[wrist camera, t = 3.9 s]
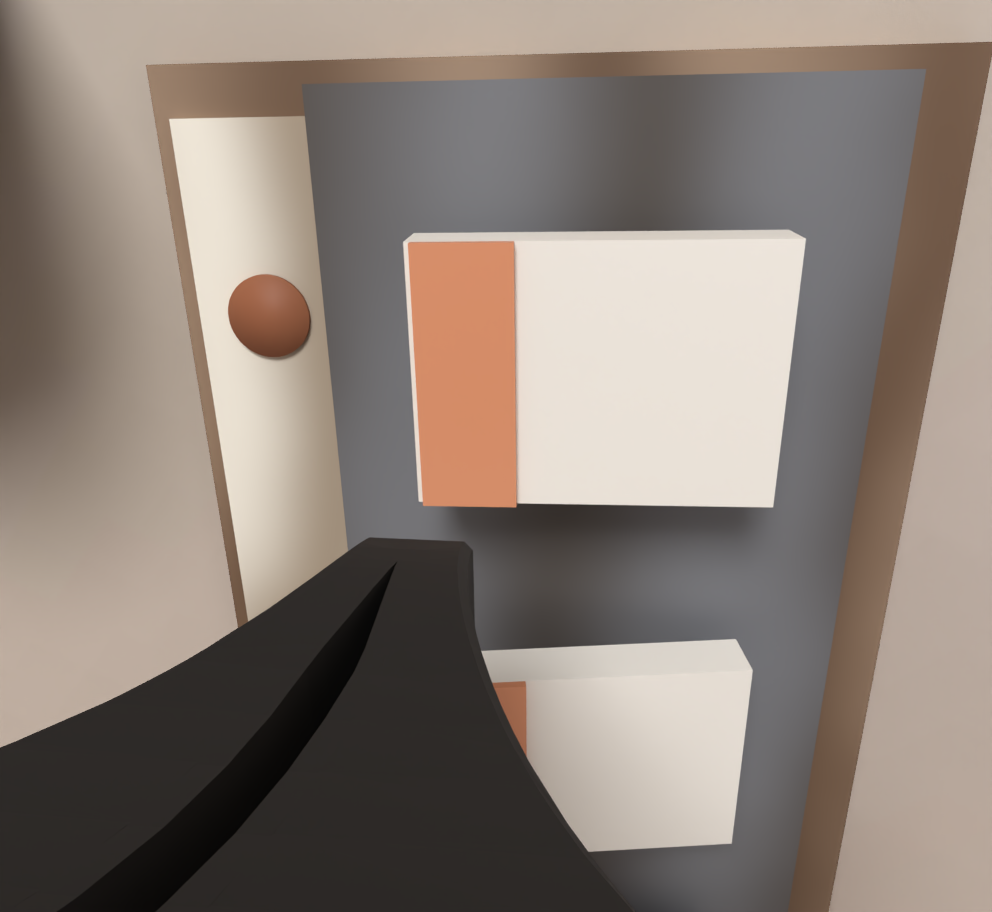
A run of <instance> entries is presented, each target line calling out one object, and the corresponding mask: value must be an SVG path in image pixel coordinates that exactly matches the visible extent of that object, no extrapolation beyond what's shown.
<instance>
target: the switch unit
mask: <svg viewBox="0 0 992 912" xmlns="http://www.w3.org/2000/svg"><path fill="white" fill-rule="evenodd" d="M991 57H992V42H973V43H936V44H899V45H863V46H826V47H789V48H752V49H716V50H679V51H642V52H605V53H569V54H532V55H495V56H459V57H422V58H385V59H348V60H312V61H275V62H238V63H201V64H165V65H146V68H147V74H148V80H149V86H150V92H151V99H152V105H153V111H154V117H155V123H156V129H157V135H158V141H159V147H160V153H161V160H162V166H163V172H164V178H165V184H166V190H167V196H168V202H169V208H170V215H171V221H172V227H173V233H174V239H175V245H176V251H177V257H178V263H179V269H180V276H181V282H182V288H183V294H184V300H185V306H186V312H187V318H188V324H189V330H190V337H191V343H192V349H193V355H194V361H195V367H196V373H197V379H198V385H199V391H200V398H201V404H202V410H203V416H204V422H205V428H206V434H207V440H208V446H209V452H210V459H211V465H212V471H213V477H214V483H215V489H216V495H217V501H218V507H219V514H220V520H221V526H222V532H223V538H224V544H225V550H226V556H227V562H228V568H229V575H230V581H231V587H232V593H233V599H234V605H235V611H236V617H237V623H238V628H239V627H240V626H242V625H244V624H245V623H247V622H248V621H250V620H251V619H253V618H255V617H256V616H258V615H259V614H261V613H262V612H264V611H265V610H267V609H268V608H270V607H271V606H273V605H274V604H276V603H277V602H278V601H280V600H281V599H283V598H284V597H285V596H287V595H288V594H290V593H291V592H292V591H294V590H295V589H297V588H298V587H299V586H301V585H302V584H304V583H305V582H306V581H308V580H309V579H311V578H312V577H313V576H315V575H316V574H318V573H319V572H320V571H322V570H323V569H324V568H326V567H327V566H328V565H330V564H331V563H332V562H334V561H335V560H337V559H338V558H339V557H341V556H342V555H343V554H345V553H346V552H348V551H349V550H350V549H352V548H353V547H355V546H356V545H358V544H359V543H360V542H362V541H364V540H365V539H367V538H369V537H374V538H397V539H420V540H443V541H464V542H465V543H466V544H467V545H468V546H469V547H470V548H471V549H472V550H473V568H474V613H475V629H476V634H477V638H478V641H479V645H480V648H481V651H491V650H512V649H534V648H555V647H576V646H598V645H619V644H641V643H662V642H683V641H705V640H726V639H736V640H737V642H738V644H739V646H740V648H741V649H742V651H743V653H744V655H745V657H746V659H747V660H748V662H749V664H750V666H751V668H752V670H753V673H752V681H751V689H750V697H749V705H748V714H747V722H746V730H745V738H744V746H743V755H742V763H741V771H740V779H739V787H738V795H737V804H736V812H735V820H734V828H733V836H732V844H716V845H698V846H681V847H663V848H645V849H628V850H610V851H593V852H589V853H590V855H591V856H592V858H593V859H594V860H595V862H596V863H597V864H598V866H599V867H600V868H601V869H602V871H603V872H604V873H605V874H606V876H607V877H608V878H609V879H610V881H611V882H612V883H613V884H614V886H615V887H616V888H617V889H618V890H619V892H620V893H621V894H622V895H623V897H624V898H625V899H626V900H627V901H628V903H629V904H630V905H631V906H632V907H633V908H634V910H635V911H636V912H828V911H829V906H830V901H831V895H832V890H833V885H834V880H835V874H836V869H837V864H838V859H839V853H840V848H841V843H842V838H843V832H844V827H845V822H846V817H847V812H848V806H849V801H850V796H851V791H852V785H853V780H854V775H855V770H856V764H857V759H858V754H859V749H860V743H861V738H862V733H863V728H864V722H865V717H866V712H867V707H868V701H869V696H870V691H871V686H872V681H873V675H874V670H875V665H876V660H877V654H878V649H879V644H880V639H881V633H882V628H883V623H884V618H885V612H886V607H887V602H888V597H889V591H890V586H891V581H892V576H893V570H894V565H895V560H896V555H897V549H898V544H899V539H900V534H901V529H902V523H903V518H904V513H905V508H906V502H907V497H908V492H909V487H910V481H911V476H912V471H913V466H914V460H915V455H916V450H917V445H918V439H919V434H920V429H921V424H922V418H923V413H924V408H925V403H926V398H927V392H928V387H929V382H930V377H931V371H932V366H933V361H934V356H935V350H936V345H937V340H938V335H939V329H940V324H941V319H942V314H943V308H944V303H945V298H946V293H947V287H948V282H949V277H950V272H951V267H952V261H953V256H954V251H955V246H956V240H957V235H958V230H959V225H960V219H961V214H962V209H963V204H964V198H965V193H966V188H967V183H968V177H969V172H970V167H971V162H972V156H973V151H974V146H975V141H976V135H977V130H978V125H979V120H980V115H981V109H982V104H983V99H984V94H985V88H986V83H987V78H988V73H989V67H990V62H991ZM696 230H791V231H792V232H794V233H796V234H798V235H800V236H802V237H804V238H806V243H805V251H804V259H803V267H802V275H801V283H800V292H799V300H798V308H797V316H796V324H795V332H794V341H793V349H792V357H791V365H790V373H789V381H788V390H787V398H786V406H785V414H784V422H783V430H782V439H781V447H780V455H779V463H778V471H777V479H776V488H775V496H774V504H773V507H712V506H650V505H588V504H527V503H517V506H516V507H459V506H423V502H419V498H418V481H417V465H416V448H415V432H414V415H413V398H412V382H411V365H410V349H409V332H408V315H407V299H406V282H405V266H404V249H403V242H404V241H405V240H406V239H407V238H408V237H410V236H411V235H412V234H413V233H472V232H584V231H696Z"/></svg>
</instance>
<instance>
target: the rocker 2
mask: <svg viewBox="0 0 992 912" xmlns="http://www.w3.org/2000/svg"><path fill="white" fill-rule="evenodd" d="M481 652H482V655H483V658H484V661H485V664H486V667H487V669H488V672H489V675H490V678H491V681H492V683H493V686H494V689H495V691H496V694H497V696H498V699H499V701H500V703H501V706H502V708H503V710H504V712H505V714H506V717H507V719H508V721H509V723H510V725H511V727H512V730H513V732H514V734H515V735H516V737H517V739H518V741H519V743H520V745H521V747H522V749H523V751H524V753H525V755H526V757H527V759H528V760H529V762H530V764H531V766H532V767H533V769H534V771H535V772H536V774H537V775H538V777H539V779H540V780H541V782H542V783H543V785H544V787H545V788H546V790H547V791H548V793H549V795H550V796H551V798H552V799H553V801H554V803H555V804H556V806H557V807H558V809H559V811H560V812H561V814H562V815H563V817H564V819H565V820H566V822H567V823H568V825H569V826H570V827H571V829H572V830H573V831H574V833H575V834H576V836H577V837H578V838H579V840H580V841H581V842H582V844H583V845H584V847H585V848H586V849H587V851H588V852H593V851H610V850H628V849H645V848H663V847H681V846H698V845H716V844H732V836H733V828H734V820H735V812H736V804H737V795H738V787H739V779H740V771H741V763H742V755H743V746H744V738H745V730H746V722H747V714H748V705H749V697H750V689H751V681H752V673H753V670H752V668H751V666H750V664H749V662H748V660H747V659H746V657H745V655H744V653H743V651H742V649H741V648H740V646H739V644H738V642H737V640H736V639H726V640H705V641H683V642H662V643H641V644H619V645H598V646H576V647H555V648H534V649H512V650H491V651H481Z"/></svg>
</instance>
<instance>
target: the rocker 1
mask: <svg viewBox="0 0 992 912" xmlns="http://www.w3.org/2000/svg"><path fill="white" fill-rule="evenodd" d="M805 243H806V238H804V237H802V236H800V235H798V234H796V233H794V232H792V231H791V230H696V231H584V232H472V233H413V234H412V235H411V236H410V237H408V238H407V239H406V240H405V241H404V242H403V249H404V266H405V282H406V299H407V315H408V332H409V349H410V365H411V382H412V398H413V415H414V432H415V448H416V465H417V481H418V498H419V502H423V506H459V507H516V506H517V503H527V504H588V505H650V506H712V507H773V504H774V496H775V488H776V479H777V471H778V463H779V455H780V447H781V439H782V430H783V422H784V414H785V406H786V398H787V390H788V381H789V373H790V365H791V357H792V349H793V341H794V332H795V324H796V316H797V308H798V300H799V292H800V283H801V275H802V267H803V259H804V251H805Z"/></svg>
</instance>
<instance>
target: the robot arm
mask: <svg viewBox="0 0 992 912" xmlns="http://www.w3.org/2000/svg"><path fill="white" fill-rule="evenodd" d="M0 912H636V911H635V910H634V908H633V907H632V906H631V905H630V904H629V903H628V901H627V900H626V899H625V898H624V897H623V895H622V894H621V893H620V892H619V890H618V889H617V888H616V887H615V886H614V884H613V883H612V882H611V881H610V879H609V878H608V877H607V876H606V874H605V873H604V872H603V871H602V869H601V868H600V867H599V866H598V864H597V863H596V862H595V860H594V859H593V858H592V856H591V855H590V853H589V852H588V851H587V849H586V848H585V847H584V845H583V844H582V842H581V841H580V840H579V838H578V837H577V836H576V834H575V833H574V831H573V830H572V829H571V827H570V826H569V825H568V823H567V822H566V820H565V819H564V817H563V815H562V814H561V812H560V811H559V809H558V807H557V806H556V804H555V803H554V801H553V799H552V798H551V796H550V795H549V793H548V791H547V790H546V788H545V787H544V785H543V783H542V782H541V780H540V779H539V777H538V775H537V774H536V772H535V771H534V769H533V767H532V766H531V764H530V762H529V760H528V759H527V757H526V755H525V753H524V751H523V749H522V747H521V745H520V743H519V741H518V739H517V737H516V735H515V734H514V732H513V730H512V727H511V725H510V723H509V721H508V719H507V717H506V714H505V712H504V710H503V708H502V706H501V703H500V701H499V699H498V696H497V694H496V691H495V689H494V686H493V683H492V681H491V678H490V675H489V672H488V669H487V667H486V664H485V661H484V658H483V655H482V652H481V648H480V645H479V641H478V638H477V634H476V629H475V613H474V568H473V550H472V549H471V548H470V547H469V546H468V545H467V544H466V543H465V542H464V541H443V540H420V539H397V538H374V537H369V538H367V539H365V540H364V541H362V542H360V543H359V544H358V545H356V546H355V547H353V548H352V549H350V550H349V551H348V552H346V553H345V554H343V555H342V556H341V557H339V558H338V559H337V560H335V561H334V562H332V563H331V564H330V565H328V566H327V567H326V568H324V569H323V570H322V571H320V572H319V573H318V574H316V575H315V576H313V577H312V578H311V579H309V580H308V581H306V582H305V583H304V584H302V585H301V586H299V587H298V588H297V589H295V590H294V591H292V592H291V593H290V594H288V595H287V596H285V597H284V598H283V599H281V600H280V601H278V602H277V603H276V604H274V605H273V606H271V607H270V608H268V609H267V610H265V611H264V612H262V613H261V614H259V615H258V616H256V617H255V618H253V619H251V620H250V621H248V622H247V623H245V624H244V625H242V626H240V627H239V628H237V629H236V630H234V631H233V632H231V633H230V634H228V635H226V636H225V637H223V638H222V639H220V640H219V641H217V642H216V643H214V644H212V645H211V646H209V647H208V648H206V649H205V650H203V651H201V652H199V653H198V654H196V655H194V656H193V657H191V658H189V659H188V660H186V661H184V662H182V663H180V664H179V665H177V666H175V667H173V668H171V669H170V670H168V671H166V672H164V673H162V674H160V675H158V676H156V677H155V678H153V679H151V680H149V681H147V682H145V683H143V684H141V685H139V686H137V687H135V688H133V689H131V690H129V691H128V692H126V693H124V694H122V695H120V696H117V697H115V698H113V699H111V700H109V701H107V702H105V703H103V704H101V705H98V706H96V707H94V708H91V709H89V710H87V711H85V712H82V713H80V714H78V715H75V716H73V717H71V718H68V719H66V720H64V721H62V722H59V723H57V724H55V725H52V726H50V727H48V728H46V729H43V730H41V731H39V732H36V733H34V734H32V735H30V736H27V737H25V738H23V739H20V740H18V741H16V742H13V743H11V744H8V745H6V746H3V747H1V748H0Z"/></svg>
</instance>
